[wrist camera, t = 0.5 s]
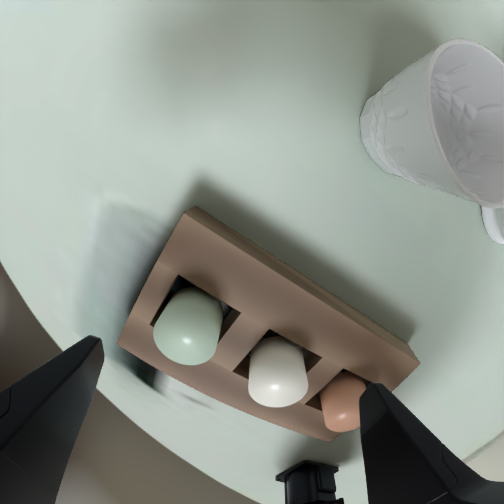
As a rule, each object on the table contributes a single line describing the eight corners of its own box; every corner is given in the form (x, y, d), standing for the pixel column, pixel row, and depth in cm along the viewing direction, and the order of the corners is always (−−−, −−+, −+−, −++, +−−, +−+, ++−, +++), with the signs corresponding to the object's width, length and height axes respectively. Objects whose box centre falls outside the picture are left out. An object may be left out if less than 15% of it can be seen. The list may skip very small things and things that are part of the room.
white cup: (329, 136, 18) (393, 115, 8) (384, 62, 16) (460, 11, 6) (408, 205, 19) (497, 243, 9) (454, 132, 17) (546, 130, 7)
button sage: (206, 344, 21) (197, 374, 17) (160, 317, 20) (144, 343, 17) (234, 306, 19) (229, 335, 16) (184, 276, 19) (169, 299, 16)
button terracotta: (341, 407, 23) (349, 435, 19) (309, 394, 22) (314, 424, 19) (372, 380, 21) (383, 408, 18) (340, 365, 21) (350, 394, 18)
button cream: (281, 382, 22) (283, 413, 18) (240, 362, 21) (236, 393, 18) (313, 350, 20) (320, 381, 17) (270, 327, 20) (271, 357, 17)
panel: (325, 421, 26) (329, 441, 23) (130, 324, 23) (116, 343, 20) (407, 344, 23) (420, 363, 20) (195, 205, 19) (183, 213, 17)
